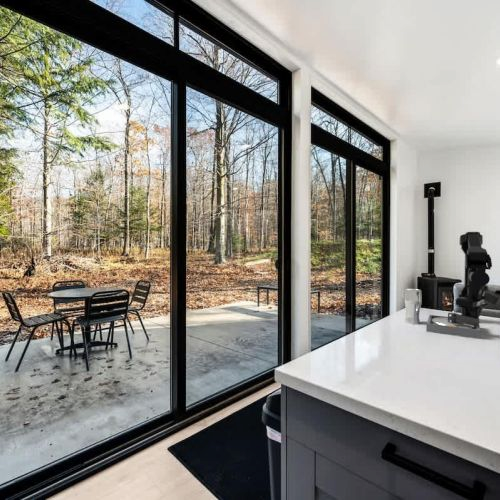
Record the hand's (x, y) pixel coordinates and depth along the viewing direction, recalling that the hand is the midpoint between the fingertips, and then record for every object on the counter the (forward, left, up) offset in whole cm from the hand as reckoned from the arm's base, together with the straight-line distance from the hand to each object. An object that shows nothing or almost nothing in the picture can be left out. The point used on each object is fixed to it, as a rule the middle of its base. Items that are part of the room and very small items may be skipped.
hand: (475, 321), depth 127 cm
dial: (-1, -7, -3) cm, 8 cm away
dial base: (-2, -8, -5) cm, 9 cm away
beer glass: (-6, -23, -5) cm, 25 cm away
